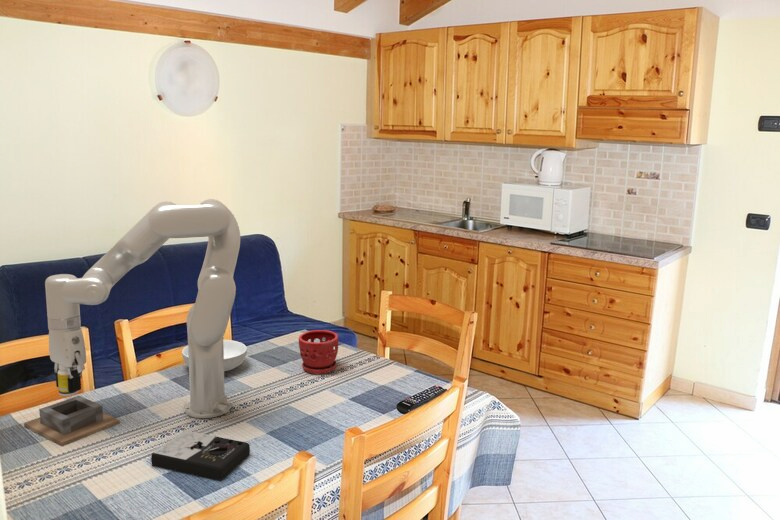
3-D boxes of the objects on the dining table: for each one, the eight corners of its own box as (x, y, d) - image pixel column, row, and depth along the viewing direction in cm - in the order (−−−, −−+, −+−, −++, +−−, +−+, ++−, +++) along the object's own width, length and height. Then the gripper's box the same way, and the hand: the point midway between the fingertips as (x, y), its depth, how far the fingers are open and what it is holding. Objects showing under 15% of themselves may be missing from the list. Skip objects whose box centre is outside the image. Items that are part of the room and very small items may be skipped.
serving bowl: (238, 381, 203) (238, 360, 202) (173, 379, 203) (172, 358, 202) (253, 358, 223) (253, 339, 222) (194, 356, 224) (193, 337, 222)
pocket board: (119, 423, 172) (118, 405, 171) (61, 446, 159) (60, 427, 158) (81, 406, 182) (80, 389, 181) (24, 426, 169) (22, 408, 168)
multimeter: (221, 483, 145) (220, 462, 144) (150, 467, 151) (149, 447, 150) (250, 456, 158) (250, 437, 157) (184, 442, 163) (183, 424, 162)
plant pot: (304, 361, 222) (304, 328, 219) (341, 364, 220) (342, 330, 218) (294, 375, 209) (293, 340, 207) (333, 378, 207) (333, 343, 205)
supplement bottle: (70, 397, 166) (68, 366, 164) (54, 395, 167) (52, 364, 165) (82, 390, 170) (81, 360, 169) (67, 388, 171) (65, 358, 170)
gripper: (97, 325, 163) (100, 392, 167) (60, 313, 172) (64, 376, 176) (68, 332, 157) (73, 401, 161) (32, 319, 166) (37, 385, 170)
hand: (68, 387), depth 168 cm, fingers closed on supplement bottle, 4 cm apart
